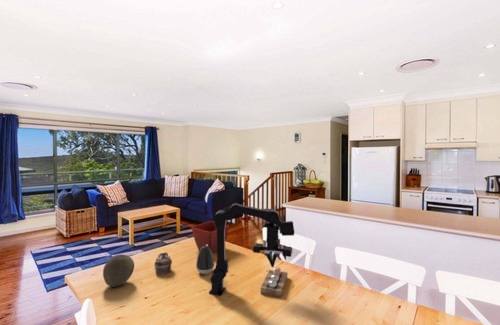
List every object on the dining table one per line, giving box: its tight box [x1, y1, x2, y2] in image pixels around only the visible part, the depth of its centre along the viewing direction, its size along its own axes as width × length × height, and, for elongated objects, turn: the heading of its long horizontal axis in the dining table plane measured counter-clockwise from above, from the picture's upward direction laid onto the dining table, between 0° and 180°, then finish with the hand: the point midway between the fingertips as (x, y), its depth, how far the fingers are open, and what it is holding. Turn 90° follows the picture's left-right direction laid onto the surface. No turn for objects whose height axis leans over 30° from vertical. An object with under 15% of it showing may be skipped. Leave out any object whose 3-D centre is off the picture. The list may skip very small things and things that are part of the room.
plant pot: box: [191, 220, 230, 254], centre depth 174 cm, size 19×19×17 cm
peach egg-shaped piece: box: [272, 266, 282, 278], centre depth 132 cm, size 4×4×5 cm
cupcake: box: [153, 252, 173, 275], centre depth 143 cm, size 10×10×10 cm
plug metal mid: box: [271, 274, 279, 283], centre depth 127 cm, size 4×4×5 cm
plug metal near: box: [268, 279, 277, 289], centre depth 122 cm, size 4×4×5 cm
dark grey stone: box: [102, 254, 135, 288], centre depth 128 cm, size 14×14×15 cm
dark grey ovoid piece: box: [195, 244, 215, 275], centre depth 141 cm, size 10×10×15 cm
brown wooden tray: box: [260, 269, 288, 298], centre depth 127 cm, size 19×10×3 cm, turn 163°
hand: (272, 266), depth 121 cm, fingers closed
